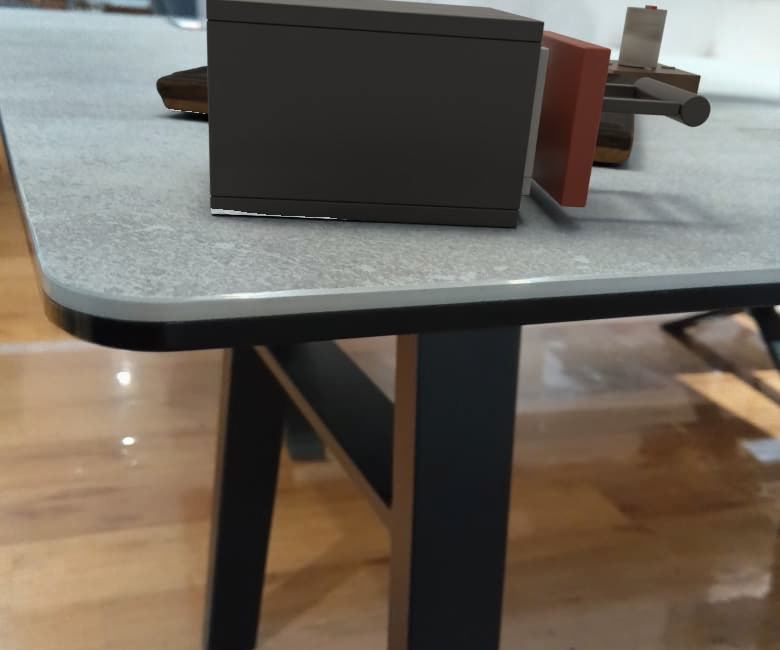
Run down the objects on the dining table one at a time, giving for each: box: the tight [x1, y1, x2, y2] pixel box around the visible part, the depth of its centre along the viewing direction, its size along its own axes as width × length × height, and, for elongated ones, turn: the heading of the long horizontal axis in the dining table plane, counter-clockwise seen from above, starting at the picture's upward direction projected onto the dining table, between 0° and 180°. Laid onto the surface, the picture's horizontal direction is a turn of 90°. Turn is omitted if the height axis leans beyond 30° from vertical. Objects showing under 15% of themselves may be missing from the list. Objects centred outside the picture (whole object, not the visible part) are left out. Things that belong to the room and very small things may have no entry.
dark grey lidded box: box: [205, 0, 545, 229], centre depth 42 cm, size 14×12×9 cm
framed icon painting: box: [155, 65, 635, 164], centre depth 71 cm, size 38×35×3 cm
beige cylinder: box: [617, 4, 668, 68], centre depth 91 cm, size 4×4×6 cm
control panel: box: [608, 59, 702, 94], centre depth 93 cm, size 9×12×3 cm
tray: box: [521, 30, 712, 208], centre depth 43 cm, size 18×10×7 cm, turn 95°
